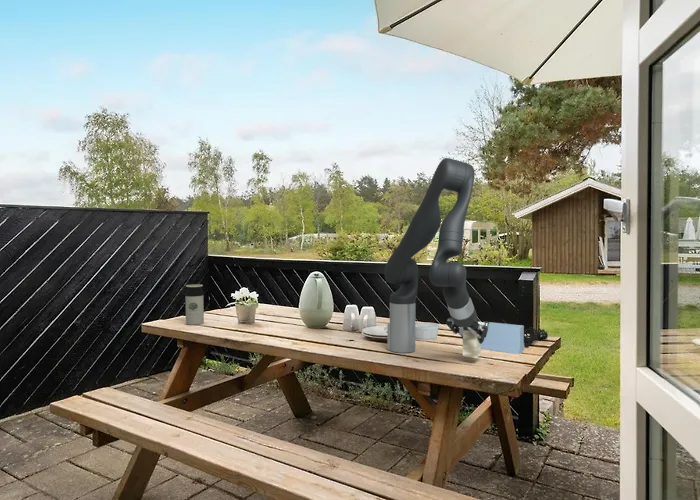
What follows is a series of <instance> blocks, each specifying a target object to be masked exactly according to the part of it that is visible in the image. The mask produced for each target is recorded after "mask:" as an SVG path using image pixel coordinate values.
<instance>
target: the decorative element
mask: <svg viewBox="0 0 700 500" xmlns="http://www.w3.org/2000/svg"><path fill="white" fill-rule="evenodd" d="M548 335H549V334H548V332H547V331H545V329H542V328H541V327H540V328H538V329H537V330H536V329H535V328H534V327H533V326H530V327H529V328H526V329H525V330H524V349H526V348H527V349H528V348H529V347H530V345H532V343H534V342H535V341H536V340H539V341H541V340H540V339H543V340H546V339H548V337H549V336H548Z"/></svg>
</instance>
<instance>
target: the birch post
mask: <svg viewBox="0 0 700 500" xmlns="http://www.w3.org/2000/svg"><path fill="white" fill-rule="evenodd" d="M480 328H481V326H480ZM481 350H482V349H481V344H480V343H479V340H478V338H477V336H476V335H475V334H473V333H472V332H471V331H469V330H464V332H463V339H462V357H468V358H474V359H477V358H478V357H480V356H481V353H482V351H481Z"/></svg>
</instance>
